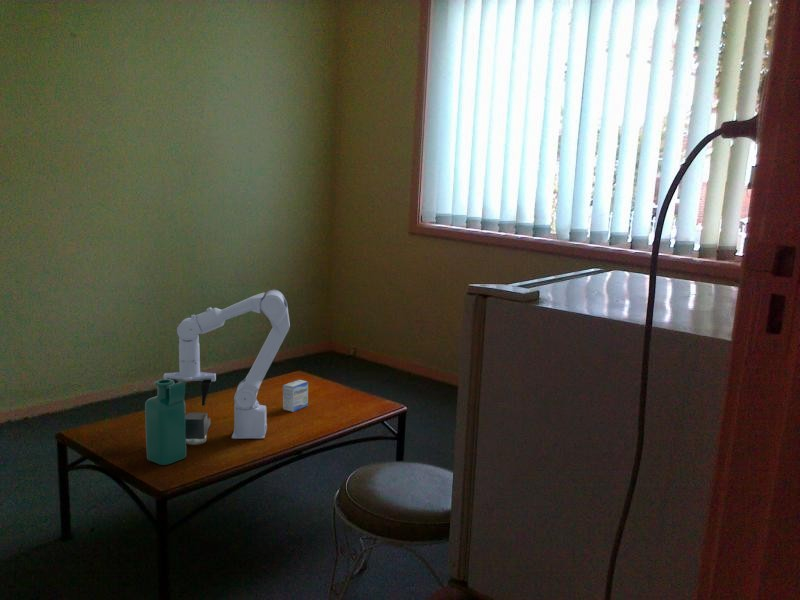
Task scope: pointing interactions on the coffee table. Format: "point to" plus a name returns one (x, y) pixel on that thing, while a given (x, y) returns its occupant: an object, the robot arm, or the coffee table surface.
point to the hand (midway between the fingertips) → (190, 404)
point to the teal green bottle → (166, 423)
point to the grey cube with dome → (196, 425)
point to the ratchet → (199, 441)
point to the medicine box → (295, 395)
